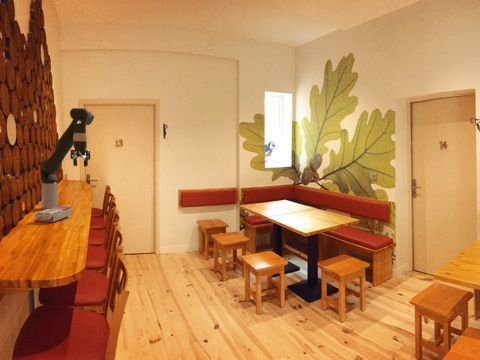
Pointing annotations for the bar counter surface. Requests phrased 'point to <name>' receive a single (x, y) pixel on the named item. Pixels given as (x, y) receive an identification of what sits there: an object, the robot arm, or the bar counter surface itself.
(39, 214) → the candy bar box
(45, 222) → the mat
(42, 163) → the robot arm
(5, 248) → the bar counter surface
